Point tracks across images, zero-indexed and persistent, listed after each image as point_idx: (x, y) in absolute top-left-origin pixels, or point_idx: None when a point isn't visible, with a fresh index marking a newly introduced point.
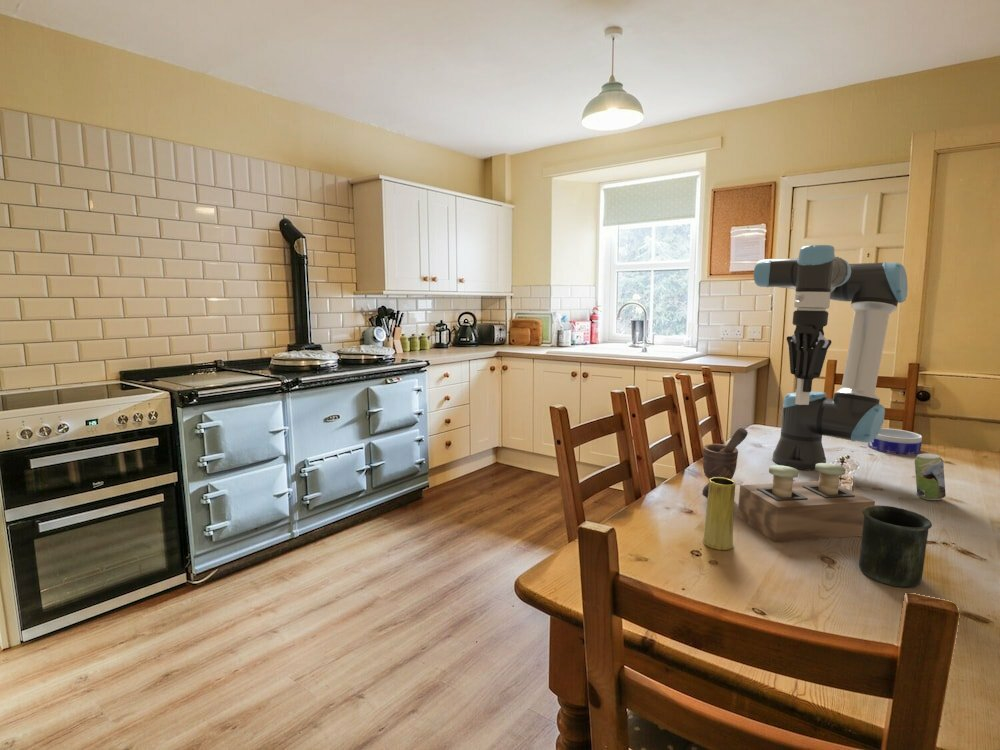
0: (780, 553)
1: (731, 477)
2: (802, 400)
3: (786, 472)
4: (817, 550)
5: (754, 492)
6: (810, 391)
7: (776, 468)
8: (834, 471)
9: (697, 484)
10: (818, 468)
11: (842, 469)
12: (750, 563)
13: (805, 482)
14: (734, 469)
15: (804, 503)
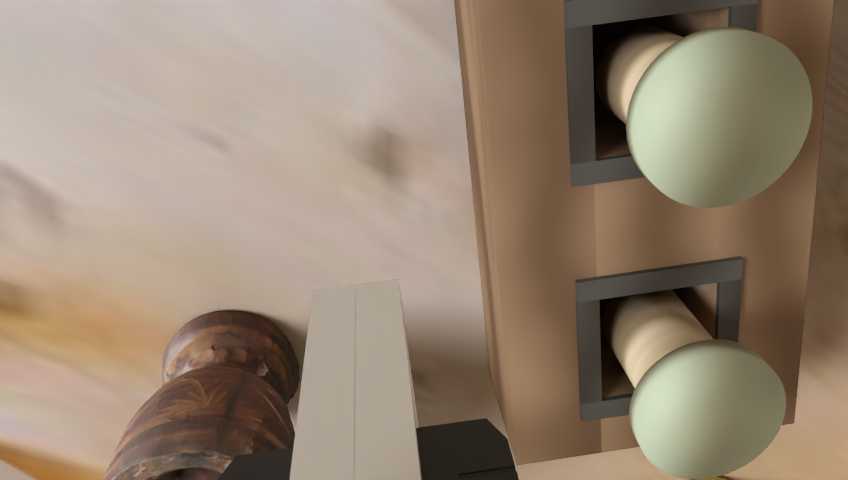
0: (801, 360)
1: (273, 390)
2: (415, 406)
3: (763, 429)
4: (812, 229)
5: (616, 442)
6: (489, 427)
7: (692, 447)
8: (798, 145)
9: (86, 402)
10: (716, 205)
11: (788, 73)
12: (835, 469)
13: (501, 124)
14: (274, 409)
15: (782, 298)
